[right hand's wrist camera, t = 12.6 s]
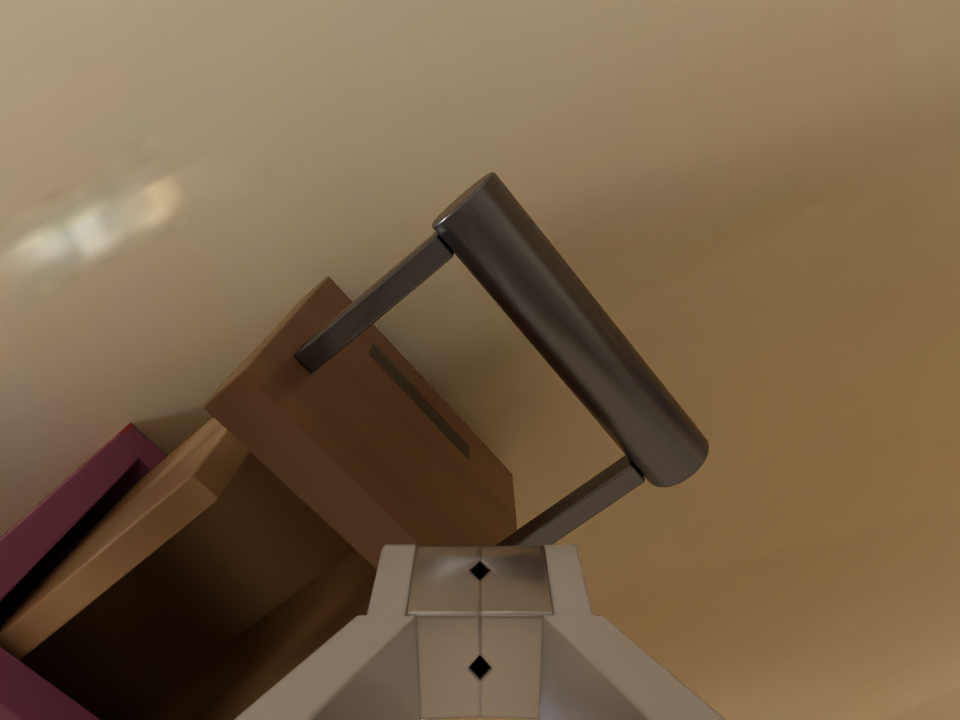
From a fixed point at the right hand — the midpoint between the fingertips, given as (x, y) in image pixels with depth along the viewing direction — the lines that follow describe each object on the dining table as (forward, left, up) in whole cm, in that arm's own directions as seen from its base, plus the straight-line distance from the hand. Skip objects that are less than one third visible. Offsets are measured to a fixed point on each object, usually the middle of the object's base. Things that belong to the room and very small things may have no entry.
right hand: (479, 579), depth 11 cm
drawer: (+8, +2, -11) cm, 14 cm away
